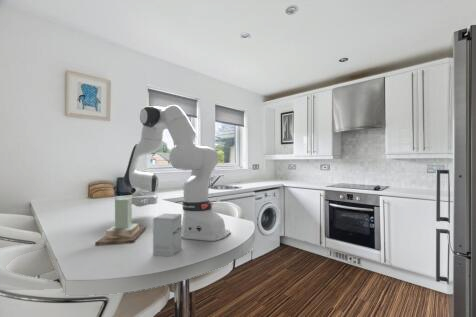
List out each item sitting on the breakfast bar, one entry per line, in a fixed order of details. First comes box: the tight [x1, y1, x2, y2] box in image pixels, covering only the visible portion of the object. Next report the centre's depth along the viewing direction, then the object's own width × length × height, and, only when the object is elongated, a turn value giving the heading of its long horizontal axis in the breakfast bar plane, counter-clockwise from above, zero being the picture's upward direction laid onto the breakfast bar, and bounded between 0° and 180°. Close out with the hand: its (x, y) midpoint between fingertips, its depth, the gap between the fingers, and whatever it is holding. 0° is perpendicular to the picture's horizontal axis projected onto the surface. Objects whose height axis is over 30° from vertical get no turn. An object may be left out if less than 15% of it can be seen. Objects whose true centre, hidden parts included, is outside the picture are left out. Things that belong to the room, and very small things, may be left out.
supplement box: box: [152, 213, 183, 257], centre depth 78 cm, size 7×7×13 cm
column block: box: [114, 198, 133, 229], centre depth 96 cm, size 5×5×12 cm
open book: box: [94, 223, 147, 246], centre depth 96 cm, size 14×18×4 cm
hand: (132, 202), depth 108 cm, fingers open, 8 cm apart
